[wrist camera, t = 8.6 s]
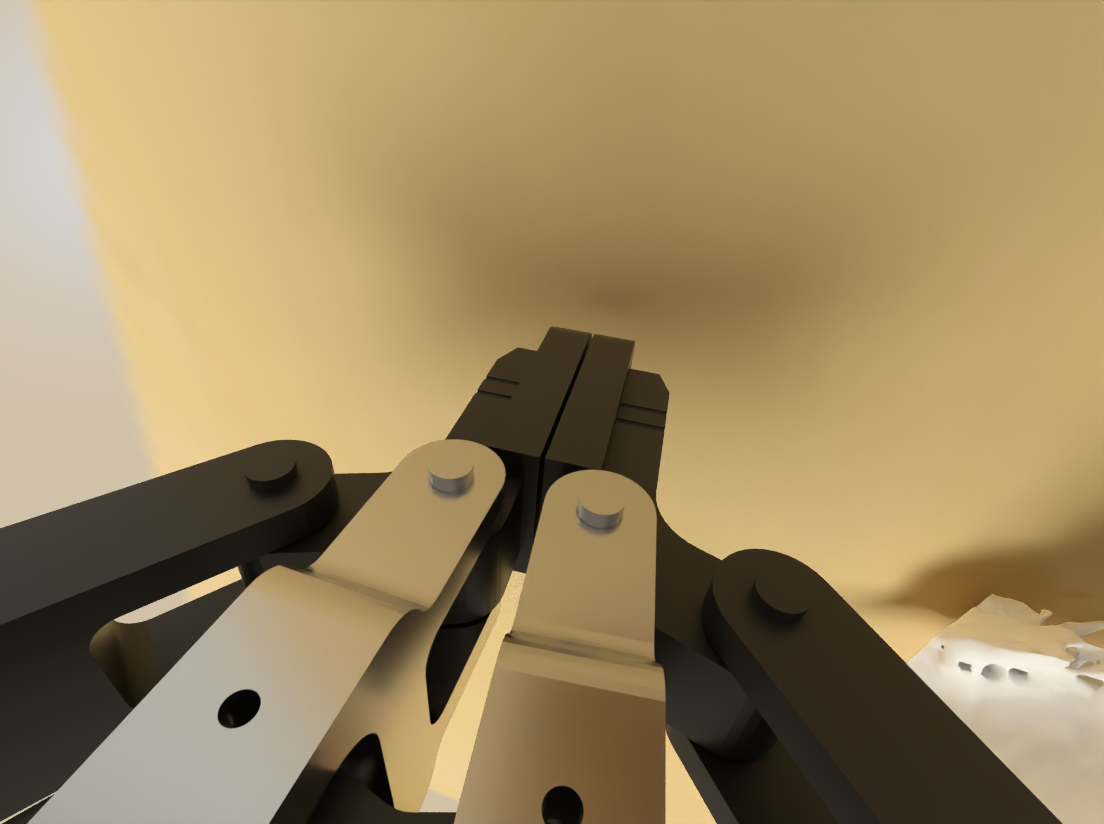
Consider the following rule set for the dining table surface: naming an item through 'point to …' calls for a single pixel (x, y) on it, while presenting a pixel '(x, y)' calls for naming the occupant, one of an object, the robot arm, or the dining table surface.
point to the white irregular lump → (1028, 699)
